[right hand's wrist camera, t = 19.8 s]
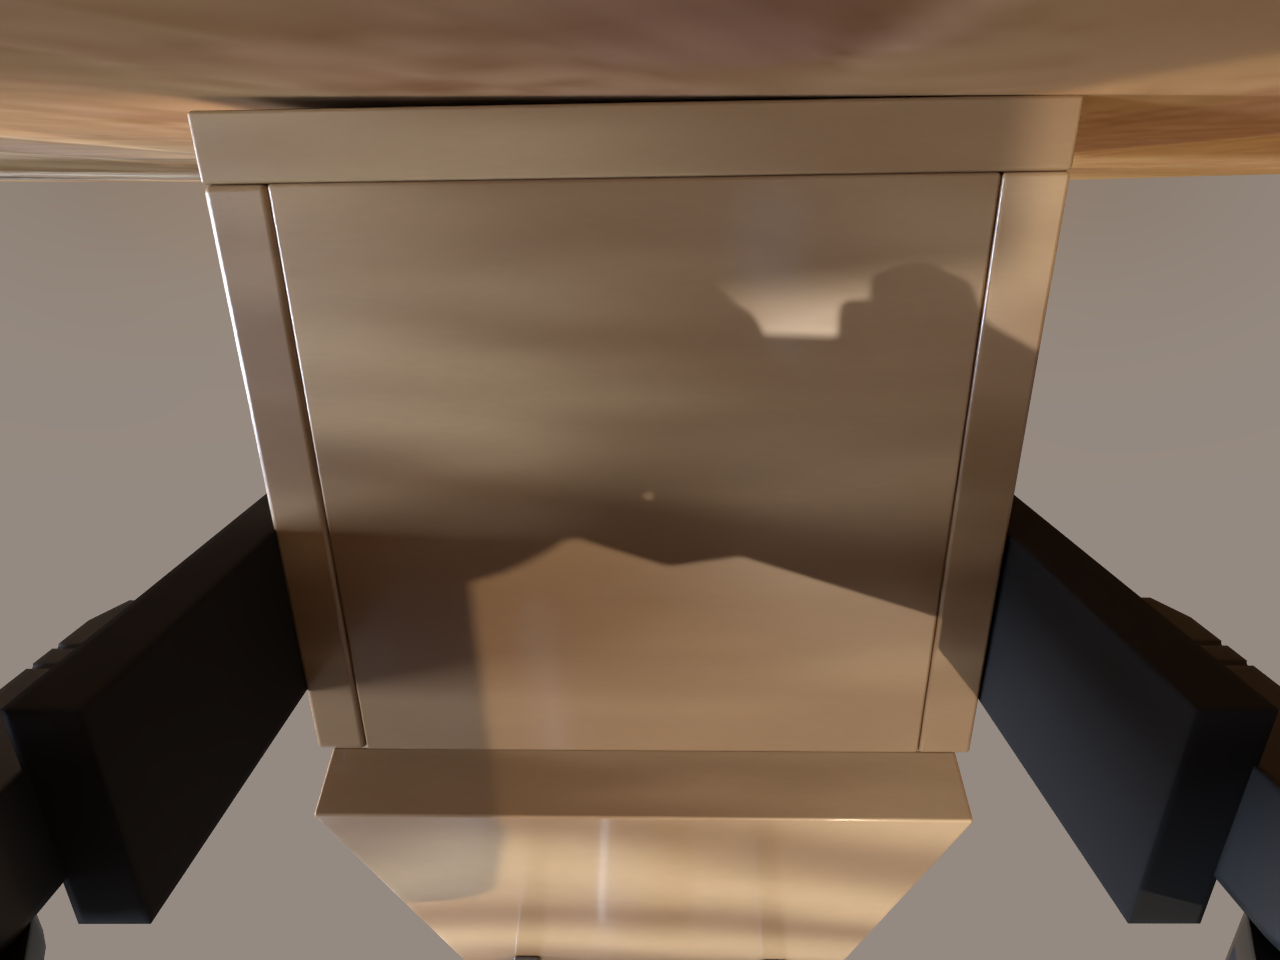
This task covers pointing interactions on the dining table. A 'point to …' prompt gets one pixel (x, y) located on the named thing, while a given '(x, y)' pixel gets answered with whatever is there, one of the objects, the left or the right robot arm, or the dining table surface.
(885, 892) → the lid
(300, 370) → the chest
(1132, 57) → the dining table surface
